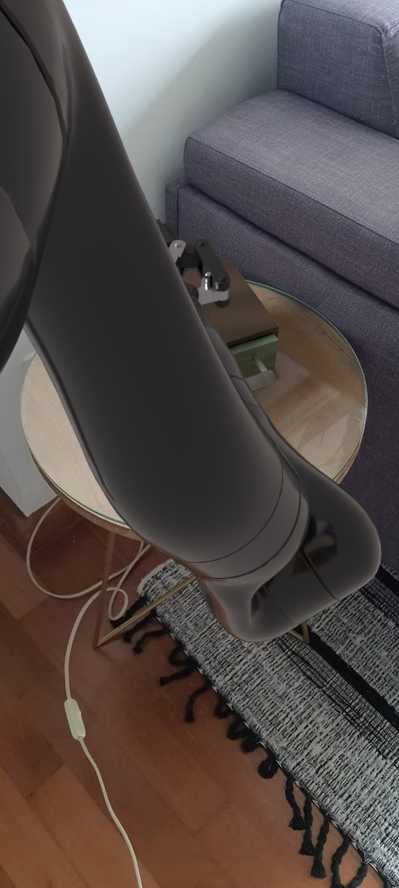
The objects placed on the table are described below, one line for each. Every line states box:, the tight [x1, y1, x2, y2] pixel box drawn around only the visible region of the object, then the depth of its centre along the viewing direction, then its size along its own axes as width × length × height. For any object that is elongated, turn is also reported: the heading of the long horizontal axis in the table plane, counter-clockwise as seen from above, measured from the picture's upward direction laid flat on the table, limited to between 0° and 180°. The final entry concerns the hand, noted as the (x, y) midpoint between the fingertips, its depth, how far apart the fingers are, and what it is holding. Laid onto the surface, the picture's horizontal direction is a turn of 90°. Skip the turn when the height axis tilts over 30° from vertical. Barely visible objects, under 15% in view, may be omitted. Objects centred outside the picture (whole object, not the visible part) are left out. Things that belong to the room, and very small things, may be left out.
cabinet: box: [182, 258, 280, 347], centre depth 85 cm, size 14×13×9 cm
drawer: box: [228, 334, 279, 392], centre depth 83 cm, size 17×11×7 cm
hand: (107, 241), depth 58 cm, fingers open, 8 cm apart
